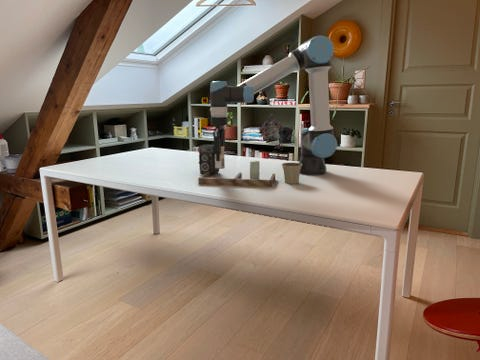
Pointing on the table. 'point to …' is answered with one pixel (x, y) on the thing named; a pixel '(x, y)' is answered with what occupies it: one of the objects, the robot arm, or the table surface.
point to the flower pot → (291, 172)
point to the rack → (235, 181)
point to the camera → (207, 159)
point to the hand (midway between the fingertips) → (220, 166)
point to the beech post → (222, 158)
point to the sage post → (254, 170)
